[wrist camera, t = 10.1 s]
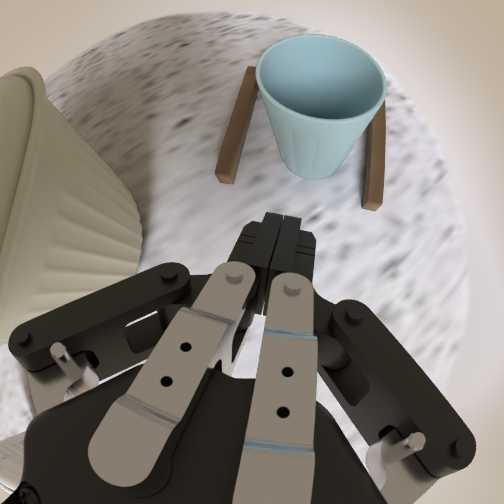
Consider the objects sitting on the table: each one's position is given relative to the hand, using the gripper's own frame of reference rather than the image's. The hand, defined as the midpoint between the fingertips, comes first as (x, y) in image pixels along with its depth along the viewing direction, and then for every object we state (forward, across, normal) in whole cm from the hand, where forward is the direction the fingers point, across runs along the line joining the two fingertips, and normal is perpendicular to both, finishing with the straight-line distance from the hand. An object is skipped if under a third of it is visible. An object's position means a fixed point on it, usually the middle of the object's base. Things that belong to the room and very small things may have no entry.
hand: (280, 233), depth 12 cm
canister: (+6, +18, +9) cm, 21 cm away
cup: (+15, -1, +1) cm, 15 cm away
